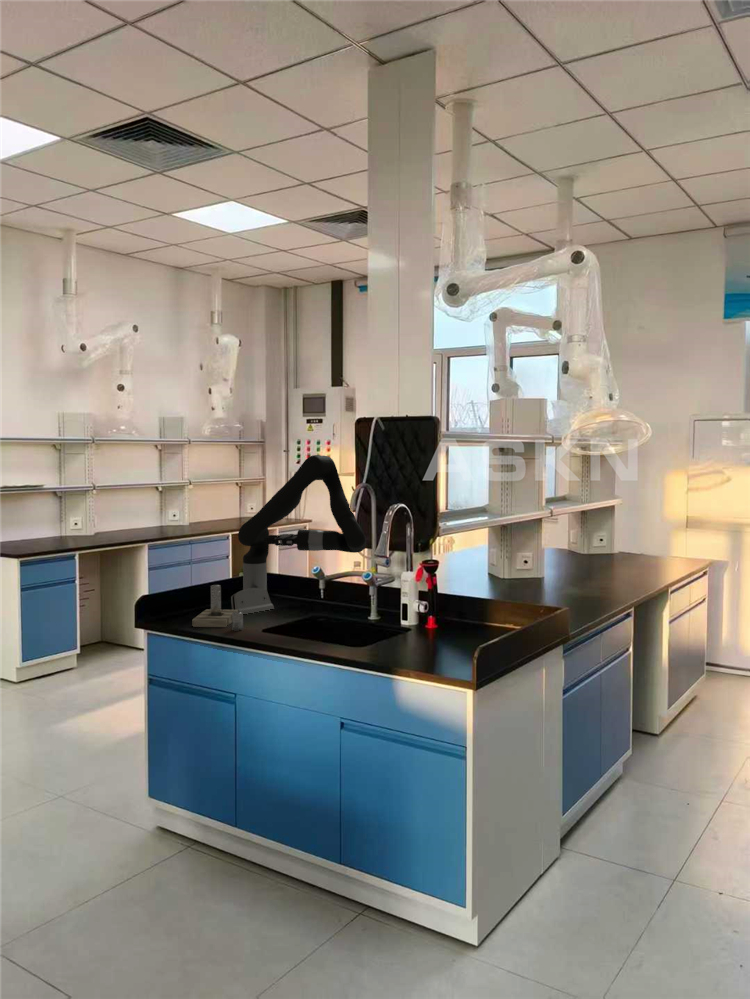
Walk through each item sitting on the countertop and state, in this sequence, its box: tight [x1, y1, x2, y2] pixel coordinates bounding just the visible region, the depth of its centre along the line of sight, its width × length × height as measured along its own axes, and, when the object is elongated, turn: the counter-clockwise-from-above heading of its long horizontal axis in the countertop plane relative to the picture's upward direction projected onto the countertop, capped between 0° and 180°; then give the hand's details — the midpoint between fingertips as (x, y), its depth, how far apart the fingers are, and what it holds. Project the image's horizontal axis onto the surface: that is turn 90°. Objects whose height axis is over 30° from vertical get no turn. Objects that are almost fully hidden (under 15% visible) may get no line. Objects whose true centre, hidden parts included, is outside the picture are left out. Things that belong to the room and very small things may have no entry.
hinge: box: [230, 588, 275, 615], centre depth 302 cm, size 17×5×10 cm, turn 136°
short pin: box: [231, 612, 244, 632], centre depth 270 cm, size 4×4×6 cm
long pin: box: [210, 584, 222, 616], centre depth 283 cm, size 4×4×13 cm
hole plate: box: [191, 608, 238, 628], centre depth 284 cm, size 18×12×2 cm, turn 177°
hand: (266, 539), depth 285 cm, fingers open, 8 cm apart
